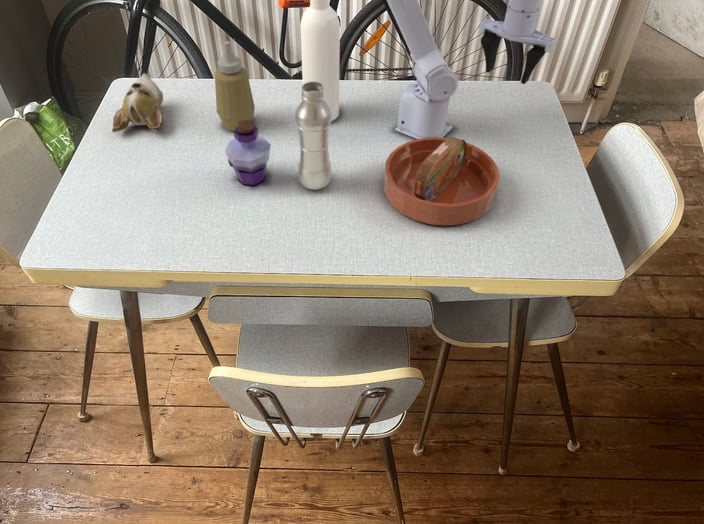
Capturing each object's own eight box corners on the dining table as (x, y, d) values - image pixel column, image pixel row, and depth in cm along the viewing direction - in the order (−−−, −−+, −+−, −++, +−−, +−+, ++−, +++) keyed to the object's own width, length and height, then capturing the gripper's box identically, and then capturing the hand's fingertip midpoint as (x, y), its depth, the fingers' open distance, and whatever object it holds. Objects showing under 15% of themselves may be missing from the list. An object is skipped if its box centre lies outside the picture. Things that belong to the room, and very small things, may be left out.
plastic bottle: (336, 176, 111) (337, 80, 96) (325, 197, 107) (324, 100, 92) (305, 169, 113) (301, 74, 98) (293, 190, 109) (287, 94, 94)
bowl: (362, 198, 107) (363, 176, 103) (419, 147, 117) (422, 125, 114) (459, 243, 98) (464, 222, 95) (512, 184, 109) (518, 162, 105)
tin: (423, 211, 103) (429, 173, 97) (408, 204, 105) (413, 166, 98) (464, 170, 111) (472, 132, 105) (449, 164, 112) (456, 127, 106)
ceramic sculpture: (167, 65, 123) (152, 106, 114) (176, 101, 130) (163, 142, 121) (118, 66, 124) (100, 107, 115) (129, 101, 131) (113, 142, 121)
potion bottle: (227, 167, 114) (218, 113, 105) (270, 161, 115) (265, 107, 106) (232, 194, 108) (223, 140, 99) (277, 188, 109) (272, 133, 100)
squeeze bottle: (264, 120, 125) (256, 39, 111) (241, 139, 120) (230, 56, 107) (234, 110, 128) (223, 29, 114) (211, 128, 123) (196, 45, 110)
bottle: (327, 100, 130) (326, -45, 107) (346, 116, 125) (349, -32, 103) (296, 111, 127) (289, -36, 105) (315, 128, 123) (311, -22, 100)
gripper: (570, 8, 104) (549, 78, 115) (497, -10, 110) (483, 58, 121) (554, 22, 101) (534, 93, 111) (480, 2, 107) (467, 71, 117)
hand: (506, 76), depth 115 cm, fingers open, 7 cm apart
